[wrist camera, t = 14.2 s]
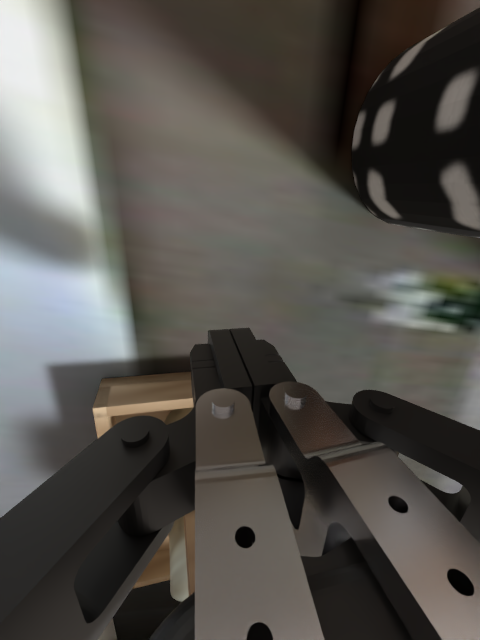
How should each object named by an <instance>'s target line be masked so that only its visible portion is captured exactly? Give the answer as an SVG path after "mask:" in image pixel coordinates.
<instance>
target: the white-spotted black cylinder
mask: <svg viewBox="0 0 480 640" xmlns="http://www.w3.org/2000/svg"><path fill="white" fill-rule="evenodd" d="M352 170H353V175H354V180H355V185H356V187H357V190H358V192H359V195H360V197H361V199H362V201H363V202H364V203H365V205H366V206H367V208H368V209H369V210H370V211H371V212H372V213H373V214H374V215H375V216H376V217H378V218H379V219H381V220H383V221H385V222H387V223H390V224H395V225H400V226H406V227H412V228H419V229H425V230H431V231H437V232H444V233H450V234H456V235H463V236H469V237H475V238H480V8H478V9H476V10H475V11H473V12H471V13H469V14H468V15H466V16H464V17H462V18H461V19H459V20H457V21H455V22H453V23H452V24H450V25H448V26H446V27H445V28H443V29H441V30H439V31H438V32H436V33H434V34H432V35H430V36H429V37H427V38H425V39H423V40H422V41H420V42H418V43H416V44H415V45H413V46H411V47H409V48H408V49H406V50H405V51H404V52H402V53H401V54H400V55H398V56H397V57H396V58H395V59H393V60H392V61H391V62H390V63H389V64H388V66H387V67H386V68H385V69H384V70H383V71H382V72H381V73H380V75H379V76H378V78H377V79H376V81H375V82H374V84H373V85H372V87H371V89H370V90H369V92H368V94H367V96H366V98H365V100H364V103H363V105H362V107H361V109H360V112H359V115H358V119H357V123H356V126H355V130H354V136H353V144H352Z"/></svg>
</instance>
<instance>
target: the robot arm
mask: <svg viewBox="0 0 480 640" xmlns="http://www.w3.org/2000/svg"><path fill="white" fill-rule="evenodd" d="M190 362H191V387H192V397H193V406H194V407H193V409H192V410H191V412H190V413H189V414H187V415H186V416H185V417H183V418H182V419H180V420H178V421H175V422H173V423H170V424H168V425H166V424H165V423H164V422H163V421H162V420H160V419H158V418H156V417H153V416H135V417H131V418H127V419H125V420H123V421H121V422H119V423H117V424H116V425H114V426H113V427H112V428H110V429H109V430H108V431H107V432H105V433H104V434H103V435H102V436H101V437H99V438H98V439H97V440H96V441H94V442H93V443H92V444H91V445H89V446H88V447H87V448H86V449H85V450H83V451H82V452H81V453H80V454H78V455H77V456H76V457H75V458H74V459H72V460H71V461H70V462H69V463H67V464H66V465H65V466H64V467H63V468H61V469H60V470H59V471H58V472H56V473H55V474H54V475H53V476H51V477H50V478H49V479H48V480H47V481H45V482H44V483H43V484H42V485H40V486H39V487H38V488H37V489H36V490H34V491H33V492H32V493H31V494H29V495H28V496H27V497H26V498H25V499H23V500H22V501H21V502H20V503H18V504H17V505H16V506H15V507H13V508H12V509H11V510H10V511H9V512H7V513H6V514H5V515H4V516H2V517H1V518H0V640H98V639H99V637H100V636H101V634H102V633H103V631H104V630H105V628H106V627H107V625H108V624H109V622H110V621H111V619H112V618H113V616H114V615H115V613H116V612H117V610H118V609H119V607H120V606H121V604H122V603H123V601H124V600H125V598H126V597H127V595H128V594H129V592H130V591H131V589H132V588H133V586H134V585H135V583H136V582H137V580H138V579H139V578H140V576H141V575H142V573H143V572H144V570H145V569H146V567H147V566H148V564H149V563H150V561H151V560H152V558H153V557H154V555H155V554H156V552H157V551H158V549H159V548H160V546H161V545H162V543H163V542H164V540H165V539H166V537H167V536H168V534H169V533H170V531H171V529H172V527H173V525H174V521H175V520H177V519H179V518H181V517H183V516H184V515H186V514H188V513H190V512H192V511H194V510H195V592H194V593H192V594H191V595H190V596H189V597H187V598H186V599H185V600H184V601H182V602H181V603H180V604H179V605H178V606H177V607H176V608H175V609H174V610H173V611H172V612H171V613H170V614H169V615H168V616H167V617H166V618H165V619H164V620H163V622H162V623H161V624H160V625H159V627H158V628H157V629H156V630H155V632H154V633H153V634H152V635H151V637H150V639H149V640H480V430H477V429H475V428H472V427H470V426H467V425H465V424H462V423H460V422H457V421H455V420H452V419H450V418H447V417H445V416H442V415H440V414H437V413H435V412H432V411H430V410H427V409H425V408H422V407H420V406H417V405H415V404H412V403H410V402H407V401H405V400H402V399H400V398H397V397H395V396H392V395H390V394H387V393H384V392H381V391H376V390H363V391H360V392H358V393H356V394H355V395H354V397H353V401H352V405H351V404H342V403H333V402H326V401H325V400H324V399H323V398H322V397H321V396H320V395H319V393H318V392H317V391H316V390H314V389H313V388H312V387H310V386H308V385H306V384H303V383H299V382H297V381H296V379H295V378H294V376H293V375H292V373H291V372H290V370H289V369H288V367H287V366H286V364H285V363H284V362H283V360H282V358H281V357H280V355H279V354H278V352H277V350H276V349H275V347H274V346H273V345H271V344H270V343H268V342H267V341H265V340H256V339H255V337H254V335H253V334H252V332H251V330H250V328H238V329H223V330H209V331H208V344H197V345H195V346H194V347H193V349H192V350H191V352H190ZM399 453H401V454H403V455H405V456H407V457H409V458H411V459H413V460H415V461H417V462H419V463H421V464H423V465H425V466H427V467H429V468H431V469H433V470H435V471H437V472H439V473H441V474H443V475H445V476H447V477H449V478H451V479H453V480H455V481H457V482H459V483H460V484H462V485H463V486H462V489H461V490H460V491H459V492H458V493H454V494H450V493H445V492H443V491H441V490H439V489H437V488H435V487H433V486H431V485H429V484H427V483H425V482H424V481H422V480H420V479H419V478H418V477H417V476H416V475H415V474H414V473H413V472H412V471H411V470H410V469H409V468H408V467H407V466H406V465H405V464H404V463H403V461H402V460H401V459H400V458H399V457H398V454H399Z"/></svg>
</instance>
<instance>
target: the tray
mask: <svg viewBox="0 0 480 640" xmlns="http://www.w3.org/2000/svg"><path fill="white" fill-rule="evenodd" d="M193 407H194V406H193V397H192V387H191V372H179V373H166V374H154V375H142V376H129V377H117V378H105V379H102V380H101V383H100V386H99V389H98V393H97V396H96V399H95V402H94V405H93V414H94V420H95V426H96V431H97V437H98V438H99V437H101V436H102V435H103V434H104V433H105V432H107V431H108V430H109V429H110V428H112V427H113V426H114V425H116V424H117V423H119V422H121V421H123V420H125V419H127V418H131V417H135V416H153V417H156V418H158V419H160V420H162V421H163V422H164V423H165V424H166V425H168V424H170V423H173V422H175V421H178V420H180V419H182V418H183V417H185V416H186V415H187V414H189V413H190V412H191V410H192V409H193ZM167 580H170V593H171V596H172V597H173V598H174V599H175V600H178V601H181V602H182V601H184V600H185V599H186V598H187V597H189V596H190V595H191V594H192V593H194V592H195V510H194V511H192V512H190V513H188V514H186V515H184V516H183V517H181V518H179V519H177V520H175V521H174V525H173V527H172V529H171V531H170V533H169V534H168V536H167V537H166V539H165V540H164V542H163V543H162V545H161V546H160V548H159V549H158V551H157V552H156V554H155V555H154V557H153V558H152V560H151V561H150V563H149V564H148V566H147V567H146V569H145V570H144V572H143V573H142V575H141V576H140V578H139V579H138V580H137V582H136V583H135V585H134V586H133V588H132V589H134V588H138V587H143V586H147V585H151V584H155V583H159V582H163V581H167Z"/></svg>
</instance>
